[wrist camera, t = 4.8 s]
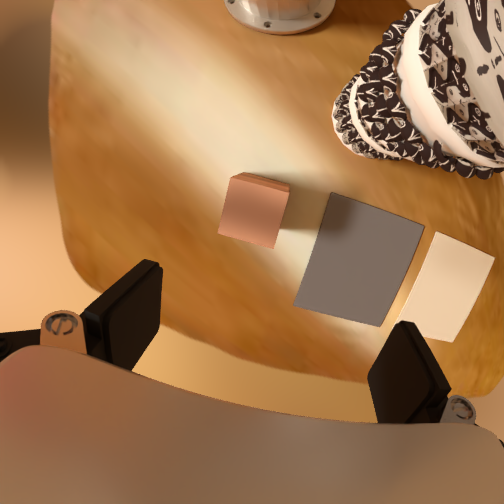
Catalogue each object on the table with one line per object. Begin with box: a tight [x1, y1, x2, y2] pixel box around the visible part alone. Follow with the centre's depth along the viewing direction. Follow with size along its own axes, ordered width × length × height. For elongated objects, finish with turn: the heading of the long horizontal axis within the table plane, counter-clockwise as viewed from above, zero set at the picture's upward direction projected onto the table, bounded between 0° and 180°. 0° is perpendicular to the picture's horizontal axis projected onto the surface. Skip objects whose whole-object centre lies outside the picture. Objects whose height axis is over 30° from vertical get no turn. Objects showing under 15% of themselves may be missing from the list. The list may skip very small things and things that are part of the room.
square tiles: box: [293, 193, 495, 342], centre depth 31 cm, size 14×26×1 cm, turn 76°
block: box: [218, 172, 290, 249], centre depth 27 cm, size 5×5×7 cm
